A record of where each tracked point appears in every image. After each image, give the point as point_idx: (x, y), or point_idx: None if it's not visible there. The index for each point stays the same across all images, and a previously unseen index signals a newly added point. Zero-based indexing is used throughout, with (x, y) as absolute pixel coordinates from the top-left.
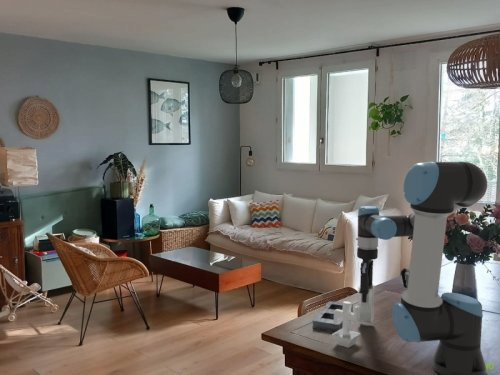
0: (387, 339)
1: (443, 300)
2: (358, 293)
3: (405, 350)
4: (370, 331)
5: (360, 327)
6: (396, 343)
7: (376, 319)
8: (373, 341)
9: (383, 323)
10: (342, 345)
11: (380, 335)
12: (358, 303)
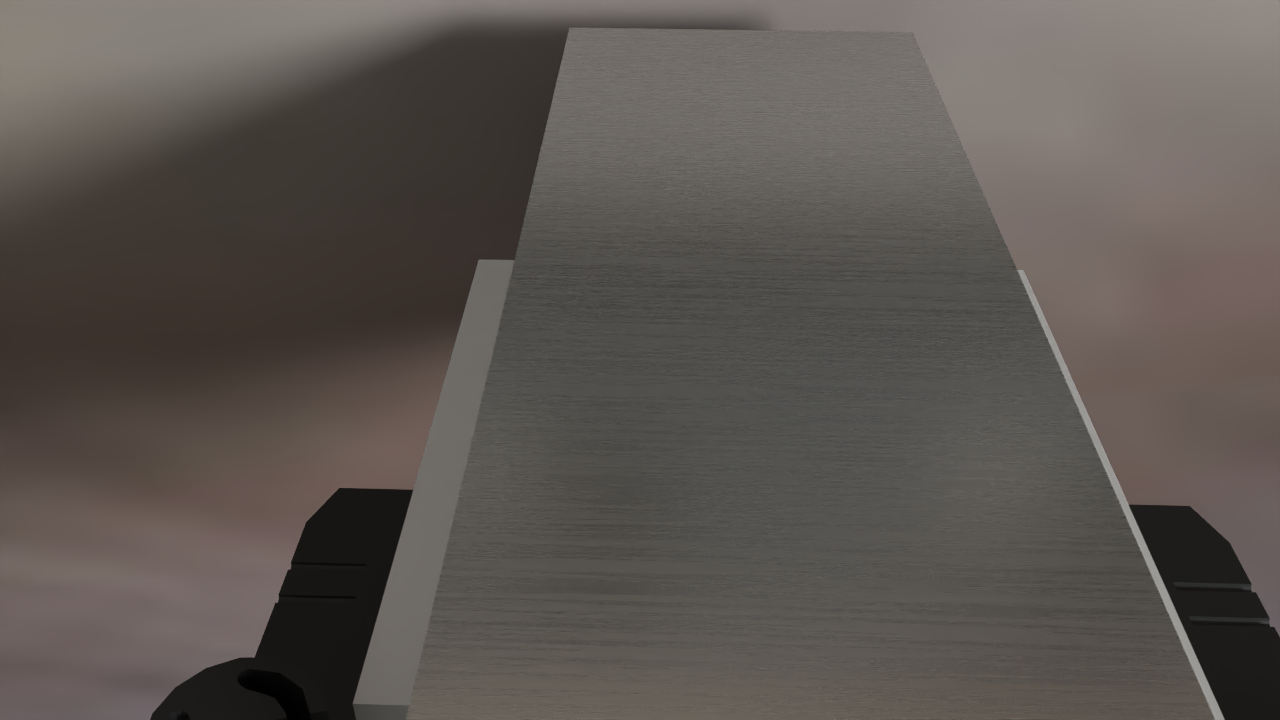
0: (250, 521)
1: None
2: (452, 549)
3: (36, 710)
4: (440, 262)
5: (558, 52)
6: (184, 622)
7: (1142, 277)
8: (28, 362)
9: None
10: None
11: (349, 424)
12: (509, 284)
